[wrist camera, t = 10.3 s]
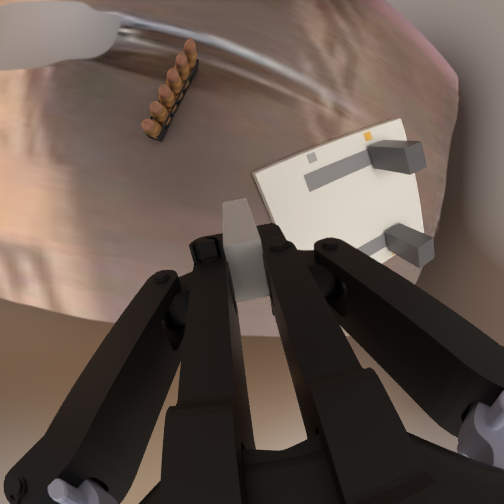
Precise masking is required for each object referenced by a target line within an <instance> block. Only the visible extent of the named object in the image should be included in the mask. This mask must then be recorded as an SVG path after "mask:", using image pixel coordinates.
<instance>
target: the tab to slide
mask: <svg viewBox="0 0 504 504" xmlns="http://www.w3.org/2000/svg"><path fill="white" fill-rule="evenodd" d="M367 147H368V150H369V153H370V157H371V160H372V164H373V168H374V169H380V170H386V171H392V172H398V173H403V174H408V175H411V174H413V173H415V172H417V171H419V170H421V169H423V168H425V167H427V166H426V161H425V156H424V152H423V147H422V143H421V142H420V141H403V140H382V141H380V142H377V143H374V144H372V145H369V146H367Z"/></svg>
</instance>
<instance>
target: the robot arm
mask: <svg viewBox="0 0 504 504" xmlns="http://www.w3.org/2000/svg"><path fill="white" fill-rule="evenodd" d="M222 219H223V233H222V234H216V235H211V236H204V237H201V238H198V239H196V240H194V241H193V242H191V243H190V245H189V247H190V251H191V254H192V258H193V261H194V268H193V271H192V272H190V273H188V274H186V275H183V276H180V277H178V275H177V273H176V271H173V270H162V271H160V272H156V273H155V274H154V275H152V276H151V277H150V278H149V279H148V280H147V281H146V282H145V284H144V285H143V286H142V288H141V289H140V290H139V292H138V293H137V294H136V296H135V297H134V298H133V300H132V301H131V302H130V304H129V305H128V306H127V308H126V309H125V311H124V312H123V313H122V315H121V316H120V318H119V319H118V320H117V322H116V323H115V325H114V326H113V327H112V329H111V330H110V332H109V333H108V334H107V336H106V337H105V339H104V340H103V342H102V343H101V345H100V346H99V348H98V349H97V351H96V352H95V354H94V355H93V357H92V358H91V360H90V361H89V363H88V364H87V366H86V367H85V369H84V370H83V372H82V373H81V375H80V376H79V378H78V380H77V381H76V383H75V384H74V386H73V387H72V389H71V391H70V392H69V394H68V396H67V397H66V399H65V401H64V402H63V404H62V406H61V407H60V409H59V411H58V413H57V414H56V416H55V417H54V419H53V421H52V423H51V424H50V426H49V428H48V430H47V432H46V433H45V435H44V436H43V437H42V438H41V439H40V440H39V441H38V442H37V443H36V444H35V445H34V446H33V447H32V448H31V449H30V450H29V451H28V452H27V453H26V454H25V455H24V456H23V457H22V458H21V459H20V460H19V461H18V462H17V463H16V465H14V466H13V467H12V468H11V469H10V471H9V472H8V474H7V475H6V476H5V480H4V493H5V496H6V498H7V500H8V501H9V503H10V504H120V503H121V502H122V500H123V499H124V497H125V496H126V494H127V493H128V491H129V489H130V488H131V486H132V483H133V481H134V479H135V476H136V474H137V471H138V468H139V466H140V463H141V461H142V458H143V455H144V453H145V450H146V447H147V445H148V442H149V439H150V437H151V434H152V432H153V429H154V427H155V424H156V421H157V419H158V416H159V414H160V411H161V409H162V406H163V404H164V401H165V399H166V396H167V394H168V391H169V389H170V386H171V384H172V381H173V378H174V376H175V374H176V371H177V369H178V366H179V364H180V362H181V370H180V379H179V390H178V401H177V404H176V406H170V407H169V408H168V410H167V412H166V417H165V427H164V438H163V451H162V466H161V481H160V482H159V483H158V484H157V485H156V486H155V487H154V488H153V489H152V490H151V491H150V492H149V493H148V494H147V495H146V497H145V498H144V499H143V500H142V501H141V502H140V503H139V504H504V347H503V346H501V345H499V344H498V343H497V342H495V341H494V340H493V339H491V338H490V337H489V336H487V335H486V334H484V333H483V332H482V331H481V330H479V329H478V328H477V327H475V326H474V325H472V324H471V323H470V322H468V321H467V320H466V319H464V318H463V317H461V316H460V315H458V314H457V313H456V312H454V311H453V310H451V309H450V308H448V307H447V306H446V305H444V304H443V303H441V302H440V301H438V300H437V299H435V298H434V297H432V296H431V295H429V294H428V293H426V292H425V291H423V290H422V289H420V288H419V287H417V286H416V285H414V284H413V283H411V282H410V281H408V280H407V279H405V278H403V277H402V276H400V275H399V274H397V273H396V272H394V271H392V270H391V269H389V268H388V267H386V266H384V265H383V264H381V263H380V262H378V261H376V260H375V259H373V258H371V257H370V256H368V255H367V254H365V253H363V252H362V251H360V250H358V249H357V248H355V247H353V246H352V245H350V244H348V243H346V242H345V241H343V240H341V239H337V238H333V237H330V238H329V237H328V238H325V239H321V240H318V241H316V242H315V243H314V250H297V248H296V246H295V245H294V244H293V243H292V242H290V241H287V240H286V238H285V236H284V234H283V232H282V231H281V229H280V227H279V226H278V225H276V224H274V223H270V224H264V225H259V226H256V224H255V221H254V218H253V216H252V213H251V210H250V207H249V204H248V201H247V199H246V198H242V199H237V200H232V201H227V202H222ZM265 296H270V300H271V306H272V313H273V315H275V319H276V323H277V326H278V330H279V334H280V337H281V341H282V345H283V348H284V352H285V356H286V359H287V363H288V366H289V370H290V374H291V378H292V381H293V385H294V388H295V392H296V396H297V400H298V403H299V407H300V411H301V415H302V418H303V422H304V426H305V429H306V433H307V440H305V441H303V442H301V443H299V444H296V445H294V446H292V447H290V448H288V449H285V450H281V451H272V450H256V447H255V442H254V436H253V429H252V421H251V414H250V406H249V399H248V391H247V384H246V376H245V368H244V359H243V351H242V343H241V334H240V326H239V317H238V308H237V304H236V302H239V301H244V300H249V299H254V298H260V297H265ZM235 299H236V300H235ZM162 322H163V323H162ZM340 326H341V327H342V328H343V329H344V330H345V331H346V332H347V333H348V334H349V335H350V336H352V338H353V339H354V340H355V341H356V342H357V343H358V344H359V345H360V346H361V347H362V348H363V349H364V350H365V351H366V352H367V353H368V354H369V355H370V356H371V357H372V358H373V359H374V360H375V361H376V362H377V363H378V364H379V365H380V366H381V367H382V368H383V369H384V370H385V371H386V372H387V373H388V374H389V375H390V376H391V377H392V378H393V379H394V380H395V381H396V382H397V383H398V384H399V385H400V386H401V387H402V388H403V389H404V391H406V393H407V394H408V395H409V396H410V397H411V398H412V399H413V400H414V401H415V402H416V403H417V404H418V405H419V406H420V407H421V408H422V409H423V410H424V411H425V412H426V413H427V414H428V415H429V416H430V417H431V418H432V419H433V420H434V421H435V422H436V423H437V424H438V425H439V426H441V427H442V428H444V429H445V430H446V431H448V432H449V433H450V434H452V435H454V436H456V437H458V442H459V443H458V446H457V452H458V453H456V452H453V451H451V450H448V449H445V448H443V447H441V446H438V445H436V444H434V443H431V442H429V441H427V440H424V439H422V438H420V437H418V436H415V435H413V434H410V433H408V432H406V429H405V427H404V425H403V423H402V421H401V419H400V417H399V415H398V413H397V412H396V410H395V408H394V406H393V404H392V402H391V400H390V398H389V396H388V394H387V392H386V390H385V388H384V386H383V384H382V383H381V381H380V379H379V377H378V375H377V374H376V372H375V371H374V370H373V369H371V368H370V367H369V368H366V369H364V368H362V367H361V365H360V363H359V361H358V359H357V358H356V356H355V353H354V352H353V350H352V348H351V346H350V344H349V342H348V340H347V338H346V336H345V334H344V333H343V331H342V329H341V327H340Z"/></svg>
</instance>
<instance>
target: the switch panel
mask: <svg viewBox="0 0 504 504" xmlns="http://www.w3.org/2000/svg"><path fill="white" fill-rule="evenodd" d="M382 140H403V141H407V139H406V135H405V131H404V128H403V124H402V121H401V118H398V119H391V120H387V121H384V122H381V123H378V124H375V125H372V126H369V127H366V128H363V129H360V130H357V131H355V132H352V133H349V134H346V135H343V136H341V137H338V138H335V139H332V140H330V141H327V142H324V143H322V144H319V145H317V146H314V147H311V148H309V149H306V150H304V151H301V152H299V153H296V154H294V155H291V156H289V157H287V158H284V159H282V160H279V161H277V162H275V163H272V164H270V165H268V166H265V167H263V168H261V169H258V170H256V171H254V172H252V175H253V178H254V180H255V182H256V185H257V187H258V189H259V192H260V194H261V197H262V199H263V201H264V204H265V206H266V209H267V211H268V213H269V216H270V218H271V221H272V223H274V224H276V225H278V226H279V227H280V229H281V231H282V232H283V234H284V236H285V238H286V240H287V241H290V242H292V243H293V244H294V245H295V246H296V248H297V250H314V243H315V242H316V241H318V240H321V239H325V238H328V237H329V238H330V237H333V238H337V239H341V240H343V241H345V242H346V243H348V244H350V245H352V246H353V247H355V248H357V249H358V250H360V251H362V252H363V253H365V254H367V255H368V256H370V257H371V258H373V259H375V260H376V261H378V262H380V263H381V264H382V263H383V262H385V261H387V260H388V259H390V258H391V257H393V256H395V255H396V254H394V253H392V252H391V251H389V250H388V247H387V241H386V236H385V231H387V230H389V229H390V228H392V227H394V226H396V225H397V224H399V223H401V224H403V225H405V226H408V227H410V228H412V229H415V230H417V231H419V232H422V233H424V229H423V221H422V213H421V206H420V200H419V194H418V188H417V183H416V178H415V173H413V174H411V175H408V174H403V173H398V172H392V171H386V170H380V169H374V168H373V164H372V160H371V157H370V153H369V150H368V147H367V146H369V145H372V144H374V143H377V142H380V141H382Z"/></svg>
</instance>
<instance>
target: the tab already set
mask: <svg viewBox="0 0 504 504" xmlns="http://www.w3.org/2000/svg"><path fill="white" fill-rule="evenodd" d="M385 236H386V241H387V247H388V250H389V251H391V252H392V253H394V254H396V255H398V256H399V257H401V258H403V259H405V260H406V261H408V262H410V263H412V264H413V265H415V266H417V267H418V268H421V267H422V266H424V265H425V264H426V263H428V262H429V261H430V260H432V259H433V258H434V242H433V237H431V236H428V235H426V234H424V233H422V232H419V231H417V230H415V229H412V228H410V227H408V226H405V225H403V224H401V223H399V224H397V225H396V226H394V227H392V228H390V229H389V230H387V231H385Z"/></svg>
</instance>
